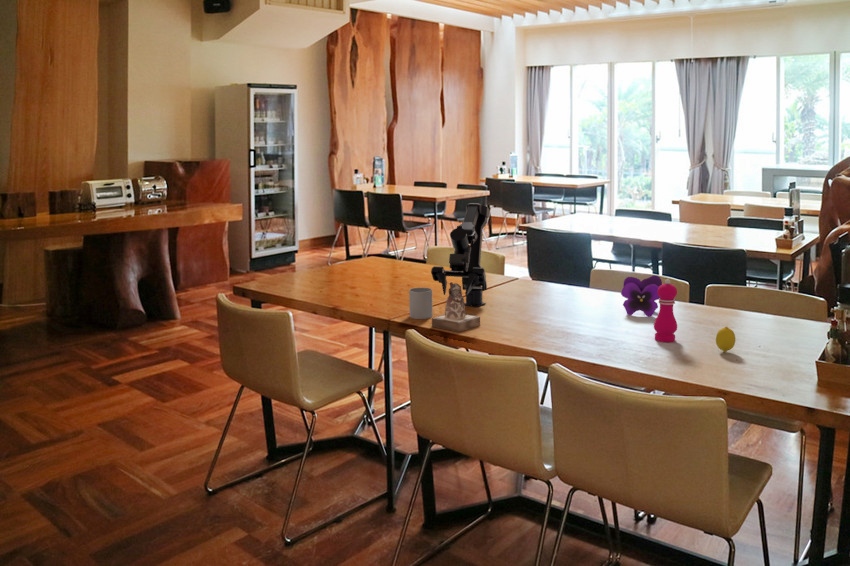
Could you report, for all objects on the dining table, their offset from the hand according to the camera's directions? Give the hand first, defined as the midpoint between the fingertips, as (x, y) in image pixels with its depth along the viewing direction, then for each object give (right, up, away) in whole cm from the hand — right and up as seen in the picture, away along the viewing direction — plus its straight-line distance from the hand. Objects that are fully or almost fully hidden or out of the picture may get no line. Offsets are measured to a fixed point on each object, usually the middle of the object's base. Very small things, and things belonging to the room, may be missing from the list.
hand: (455, 294), depth 265 cm
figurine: (0, -8, +3) cm, 9 cm away
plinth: (+1, -11, +4) cm, 12 cm away
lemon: (+81, -17, -32) cm, 89 cm away
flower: (+70, -7, +20) cm, 73 cm away
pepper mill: (+67, -15, -17) cm, 71 cm away
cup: (-12, -9, +18) cm, 23 cm away
